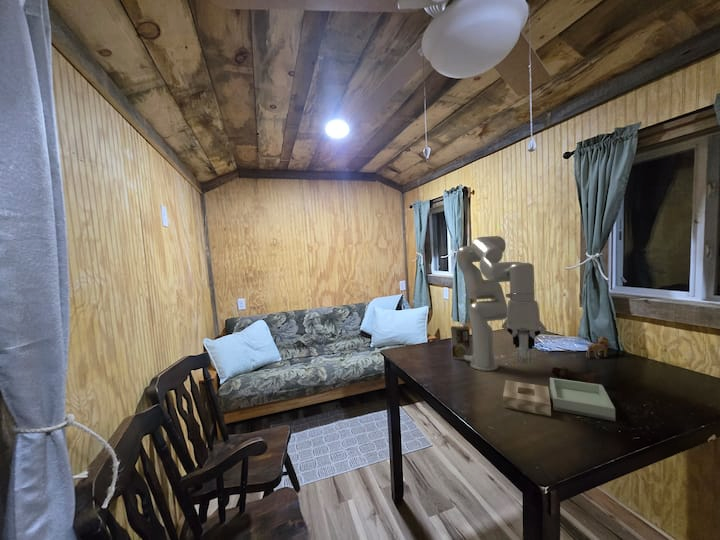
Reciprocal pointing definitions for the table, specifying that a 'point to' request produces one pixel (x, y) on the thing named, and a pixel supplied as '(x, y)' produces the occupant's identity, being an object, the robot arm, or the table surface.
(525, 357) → the pin
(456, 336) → the coffee box
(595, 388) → the tray
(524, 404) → the socket block
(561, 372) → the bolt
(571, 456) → the table surface
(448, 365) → the table surface
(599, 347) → the lion figurine
